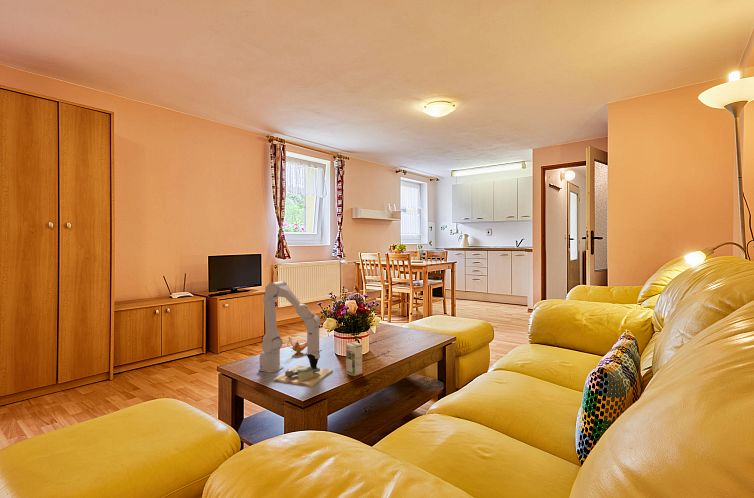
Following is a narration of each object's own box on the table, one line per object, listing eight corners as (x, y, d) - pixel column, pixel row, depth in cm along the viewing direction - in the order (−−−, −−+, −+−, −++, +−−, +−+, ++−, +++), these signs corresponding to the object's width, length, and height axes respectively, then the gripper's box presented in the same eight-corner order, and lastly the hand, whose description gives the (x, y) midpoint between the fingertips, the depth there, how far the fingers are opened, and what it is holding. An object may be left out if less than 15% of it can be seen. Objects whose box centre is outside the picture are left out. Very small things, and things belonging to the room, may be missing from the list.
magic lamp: (317, 351, 217) (317, 332, 217) (291, 358, 204) (290, 338, 203) (310, 349, 221) (310, 330, 221) (284, 355, 208) (283, 336, 208)
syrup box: (345, 373, 179) (345, 343, 179) (354, 370, 183) (354, 341, 183) (353, 376, 175) (353, 346, 175) (362, 373, 179) (362, 343, 179)
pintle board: (273, 381, 170) (273, 376, 170) (297, 367, 189) (297, 363, 189) (311, 386, 163) (311, 382, 163) (332, 371, 182) (332, 367, 182)
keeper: (298, 379, 169) (298, 370, 169) (297, 376, 173) (297, 368, 173) (312, 377, 172) (312, 369, 172) (311, 374, 175) (311, 366, 175)
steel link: (286, 377, 169) (286, 372, 169) (284, 374, 173) (284, 369, 173) (320, 371, 176) (320, 366, 176) (317, 369, 180) (317, 364, 180)
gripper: (325, 343, 174) (326, 372, 174) (317, 336, 187) (317, 363, 187) (311, 345, 171) (311, 375, 171) (303, 338, 184) (303, 365, 184)
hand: (313, 369), depth 179 cm, fingers closed
